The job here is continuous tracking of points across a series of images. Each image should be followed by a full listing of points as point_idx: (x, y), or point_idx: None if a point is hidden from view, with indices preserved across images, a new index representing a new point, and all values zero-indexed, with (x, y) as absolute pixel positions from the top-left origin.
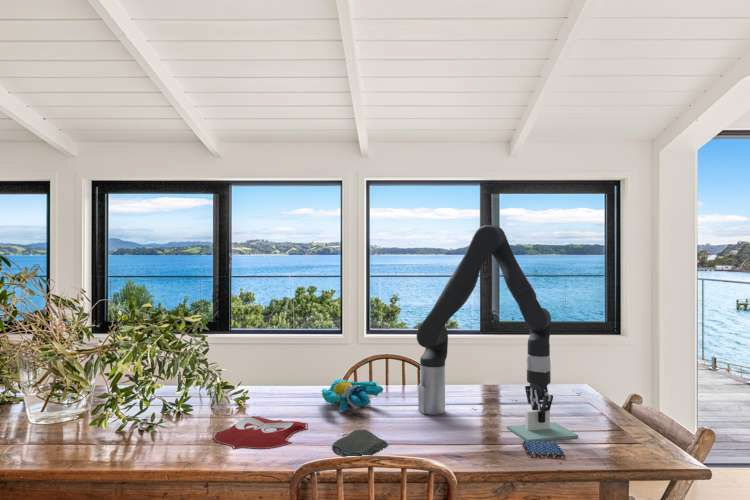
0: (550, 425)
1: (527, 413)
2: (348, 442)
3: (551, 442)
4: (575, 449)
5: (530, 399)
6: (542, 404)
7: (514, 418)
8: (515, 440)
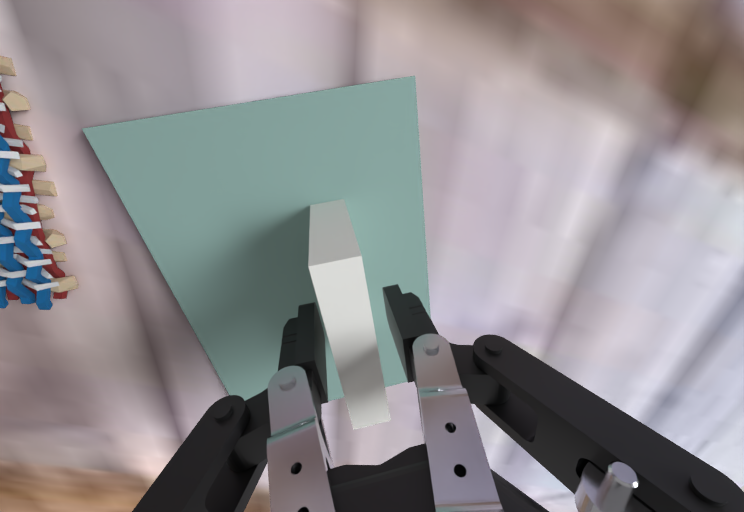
0: (391, 348)
1: (318, 257)
2: None
3: (30, 278)
4: (50, 368)
5: (455, 391)
6: (197, 475)
7: (572, 205)
8: (121, 33)
